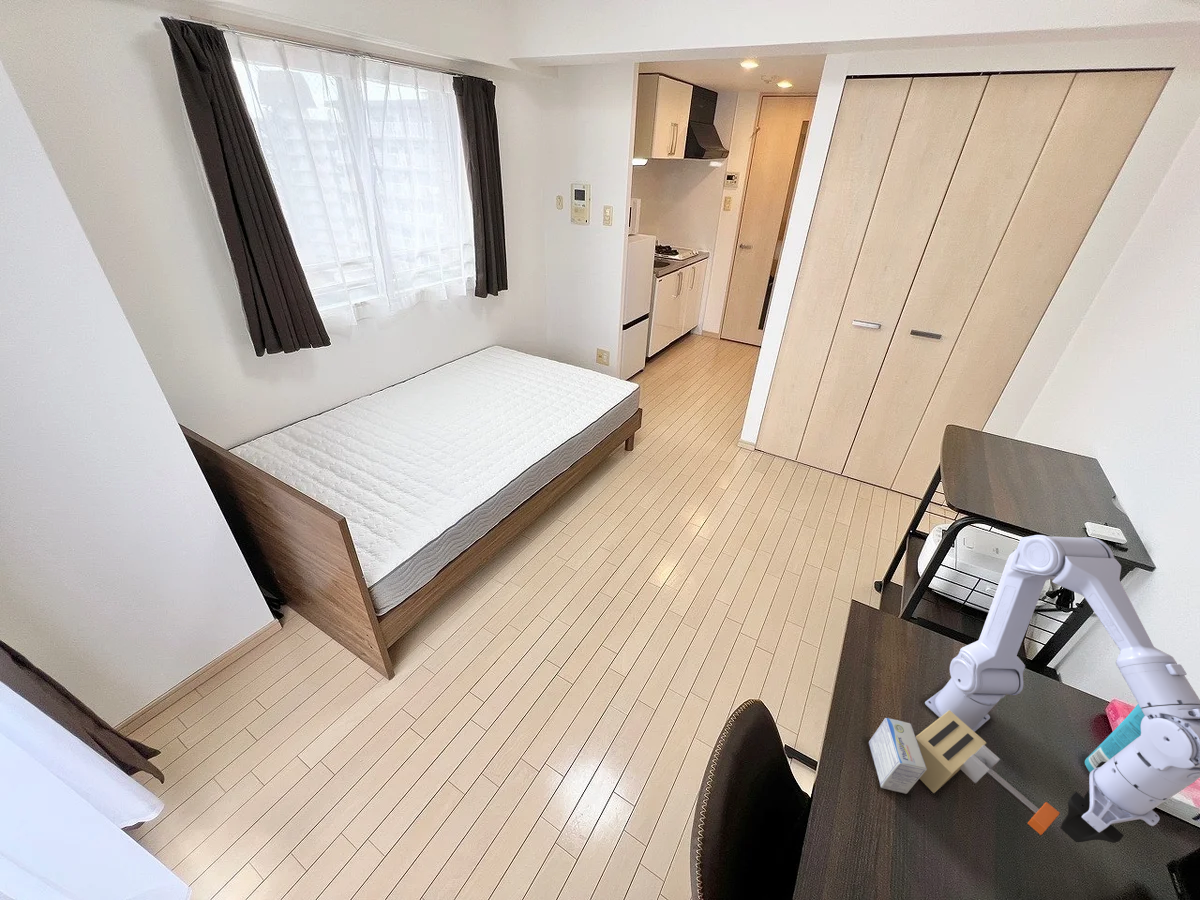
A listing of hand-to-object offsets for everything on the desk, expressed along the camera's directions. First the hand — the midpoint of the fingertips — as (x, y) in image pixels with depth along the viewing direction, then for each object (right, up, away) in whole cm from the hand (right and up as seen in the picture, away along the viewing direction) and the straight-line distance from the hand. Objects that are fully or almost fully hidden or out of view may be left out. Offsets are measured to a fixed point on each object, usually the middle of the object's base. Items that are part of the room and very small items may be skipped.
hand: (1080, 819), depth 72 cm
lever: (-6, 0, +5) cm, 8 cm away
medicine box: (-21, -2, +14) cm, 25 cm away
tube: (+20, -4, +16) cm, 26 cm away
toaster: (-10, -2, +15) cm, 18 cm away
